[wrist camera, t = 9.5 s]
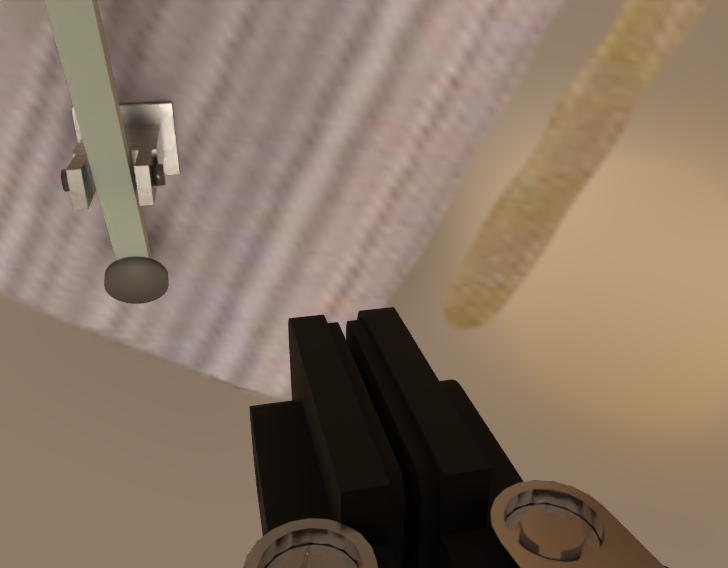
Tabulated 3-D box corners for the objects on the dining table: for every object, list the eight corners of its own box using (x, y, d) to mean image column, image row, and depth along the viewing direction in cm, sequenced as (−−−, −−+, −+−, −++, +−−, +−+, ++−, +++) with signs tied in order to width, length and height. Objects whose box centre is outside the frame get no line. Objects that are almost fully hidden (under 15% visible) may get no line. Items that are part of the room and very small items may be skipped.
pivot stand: (73, 105, 37) (38, 146, 28) (171, 101, 38) (166, 139, 29) (85, 176, 38) (56, 235, 30) (179, 171, 39) (177, 226, 31)
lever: (-58, -286, 18) (-69, -267, 17) (67, -277, 19) (63, -258, 18) (111, 280, 37) (110, 306, 36) (170, 275, 38) (171, 300, 37)
